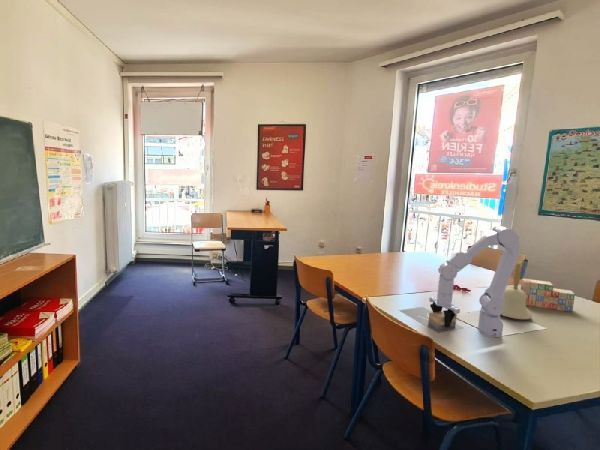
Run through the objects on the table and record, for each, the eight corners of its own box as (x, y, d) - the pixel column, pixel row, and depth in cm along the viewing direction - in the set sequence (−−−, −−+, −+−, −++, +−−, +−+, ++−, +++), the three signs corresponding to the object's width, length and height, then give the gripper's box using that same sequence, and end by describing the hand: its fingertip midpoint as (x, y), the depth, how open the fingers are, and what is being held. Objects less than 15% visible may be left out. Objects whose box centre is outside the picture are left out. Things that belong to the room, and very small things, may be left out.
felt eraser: (446, 321, 148) (447, 310, 147) (455, 326, 144) (456, 314, 143) (428, 324, 144) (429, 313, 143) (437, 329, 140) (438, 317, 139)
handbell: (521, 325, 150) (529, 269, 146) (486, 313, 162) (493, 261, 159) (537, 318, 158) (545, 265, 155) (503, 307, 171) (509, 258, 167)
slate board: (463, 330, 142) (463, 327, 142) (437, 335, 137) (438, 332, 137) (422, 309, 164) (422, 306, 164) (398, 312, 159) (398, 310, 158)
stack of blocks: (569, 308, 173) (572, 284, 171) (572, 312, 167) (576, 288, 165) (519, 300, 182) (522, 277, 180) (520, 304, 176) (523, 281, 174)
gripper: (424, 287, 147) (422, 318, 149) (451, 299, 134) (448, 332, 136) (437, 286, 150) (434, 316, 152) (465, 297, 136) (461, 330, 138)
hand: (441, 323), depth 144 cm, fingers closed on felt eraser, 5 cm apart
